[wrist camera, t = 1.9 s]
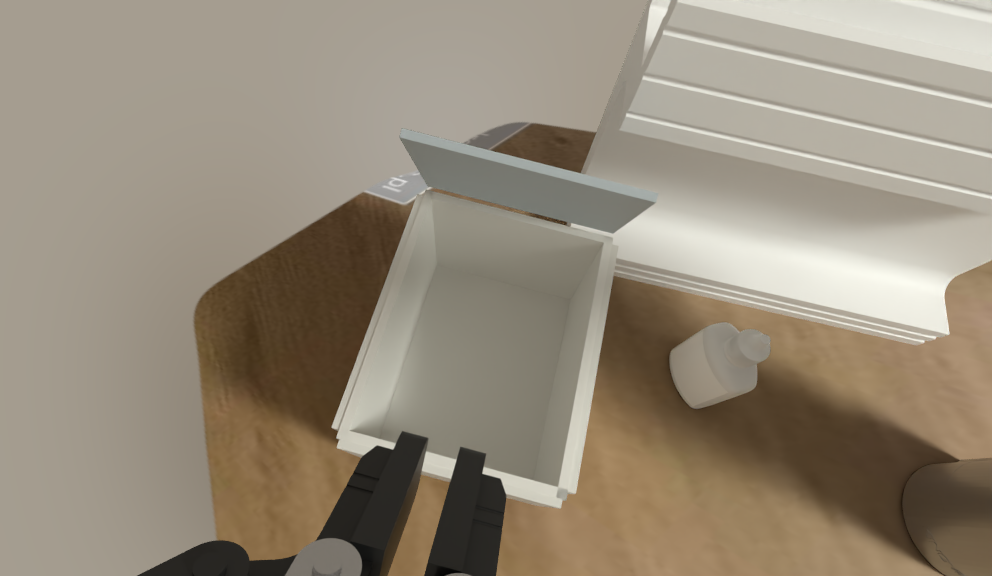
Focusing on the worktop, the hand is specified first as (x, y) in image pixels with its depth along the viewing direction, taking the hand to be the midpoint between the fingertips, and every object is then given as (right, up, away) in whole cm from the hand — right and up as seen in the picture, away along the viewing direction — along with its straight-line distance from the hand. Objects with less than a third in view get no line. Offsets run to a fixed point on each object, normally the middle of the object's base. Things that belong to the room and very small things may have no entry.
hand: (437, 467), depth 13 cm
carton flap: (+3, +11, +18) cm, 21 cm away
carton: (0, -2, +31) cm, 31 cm away
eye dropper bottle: (+19, -3, +32) cm, 38 cm away
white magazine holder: (+26, +7, +37) cm, 45 cm away
